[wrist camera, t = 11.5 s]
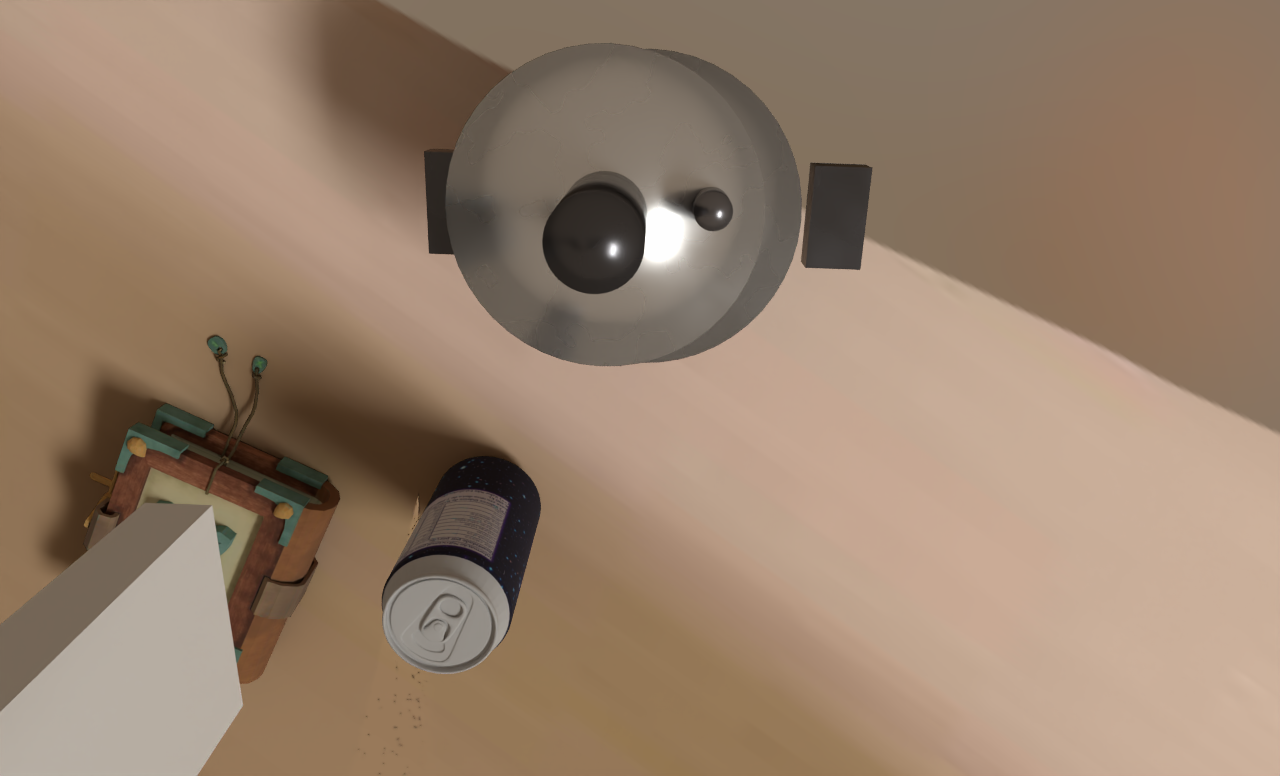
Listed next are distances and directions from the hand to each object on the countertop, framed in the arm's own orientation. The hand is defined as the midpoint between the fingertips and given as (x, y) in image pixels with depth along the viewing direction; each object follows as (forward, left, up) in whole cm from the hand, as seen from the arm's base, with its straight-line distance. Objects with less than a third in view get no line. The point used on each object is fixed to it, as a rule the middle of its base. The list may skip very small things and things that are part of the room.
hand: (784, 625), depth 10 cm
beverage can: (-10, -16, -35) cm, 40 cm away
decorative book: (-25, -17, -35) cm, 47 cm away
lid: (-4, +1, -26) cm, 26 cm away
